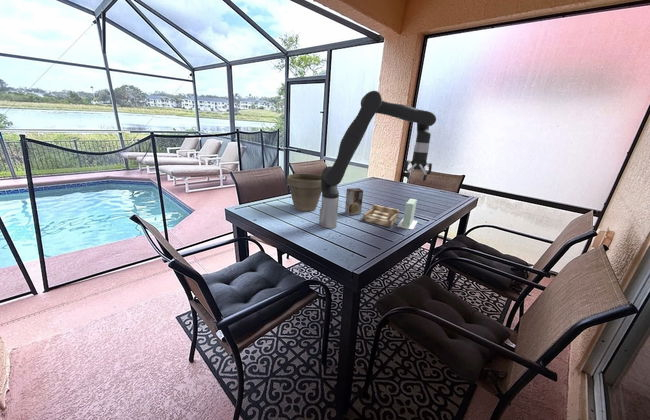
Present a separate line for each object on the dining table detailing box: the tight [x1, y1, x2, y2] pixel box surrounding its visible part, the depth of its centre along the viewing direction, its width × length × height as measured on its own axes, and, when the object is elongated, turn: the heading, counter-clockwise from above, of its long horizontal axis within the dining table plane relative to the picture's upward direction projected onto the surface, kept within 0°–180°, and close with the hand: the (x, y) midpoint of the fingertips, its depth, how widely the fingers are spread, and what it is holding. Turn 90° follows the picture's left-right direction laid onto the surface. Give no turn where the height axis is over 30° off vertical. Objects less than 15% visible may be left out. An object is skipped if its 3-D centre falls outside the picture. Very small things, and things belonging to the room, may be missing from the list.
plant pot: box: [286, 172, 322, 212], centre depth 166 cm, size 25×25×22 cm
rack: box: [362, 203, 400, 228], centre depth 156 cm, size 17×17×6 cm
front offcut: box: [371, 214, 387, 220], centre depth 152 cm, size 9×3×4 cm, turn 55°
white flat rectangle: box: [396, 218, 418, 231], centre depth 152 cm, size 9×16×1 cm, turn 151°
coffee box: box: [344, 187, 364, 216], centre depth 162 cm, size 9×6×16 cm
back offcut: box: [373, 210, 390, 221], centre depth 155 cm, size 9×3×5 cm, turn 57°
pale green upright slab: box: [402, 198, 418, 227], centre depth 149 cm, size 12×4×14 cm, turn 151°
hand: (415, 180), depth 143 cm, fingers open, 8 cm apart
